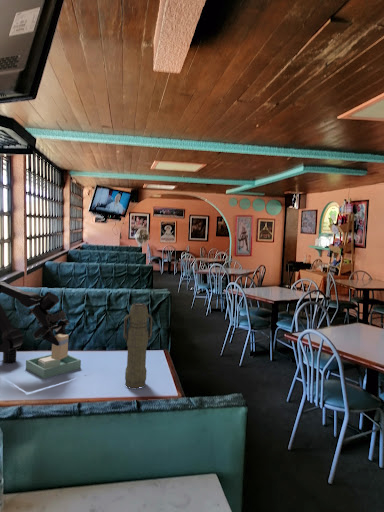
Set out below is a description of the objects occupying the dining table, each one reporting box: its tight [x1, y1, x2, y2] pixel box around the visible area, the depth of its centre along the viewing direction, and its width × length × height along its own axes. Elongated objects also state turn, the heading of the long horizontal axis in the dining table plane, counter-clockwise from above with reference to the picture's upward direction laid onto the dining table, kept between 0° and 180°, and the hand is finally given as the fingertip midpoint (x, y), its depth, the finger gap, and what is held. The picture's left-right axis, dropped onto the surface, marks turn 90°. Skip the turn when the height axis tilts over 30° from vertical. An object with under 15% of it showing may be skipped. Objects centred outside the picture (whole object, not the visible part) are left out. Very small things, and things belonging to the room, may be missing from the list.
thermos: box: [123, 302, 153, 389], centre depth 153 cm, size 9×12×35 cm
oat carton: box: [50, 334, 70, 360], centre depth 164 cm, size 4×6×10 cm
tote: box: [25, 354, 82, 379], centre depth 166 cm, size 16×18×4 cm
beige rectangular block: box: [38, 356, 60, 369], centre depth 168 cm, size 6×8×3 cm
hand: (62, 343), depth 163 cm, fingers closed on oat carton, 5 cm apart
